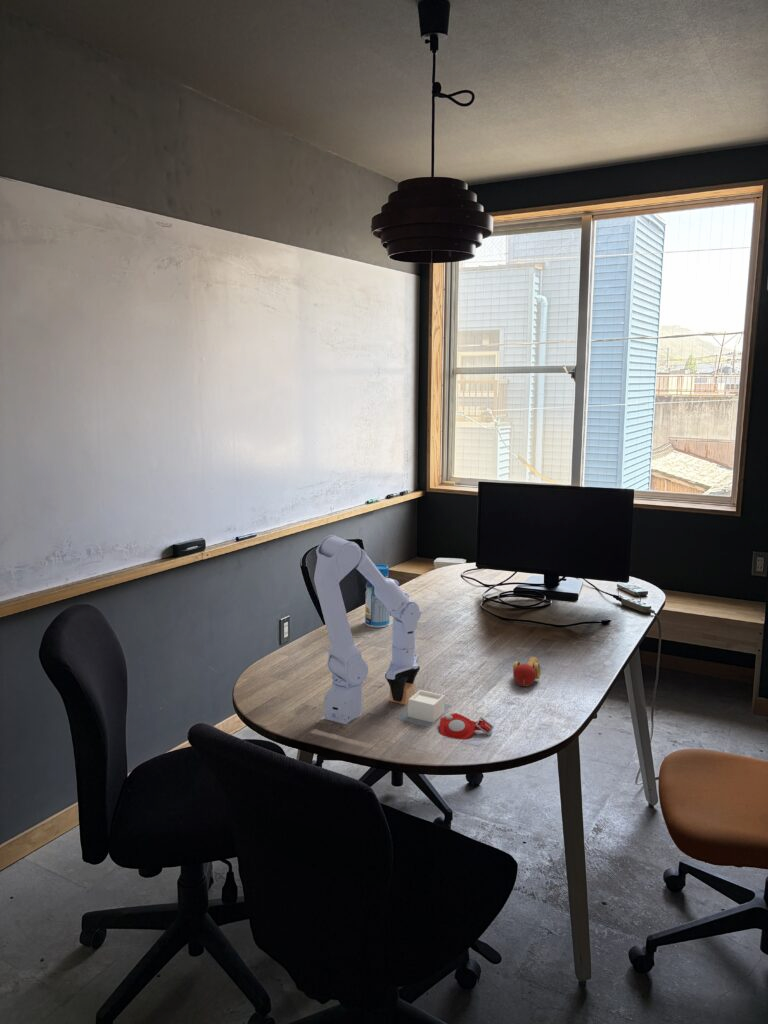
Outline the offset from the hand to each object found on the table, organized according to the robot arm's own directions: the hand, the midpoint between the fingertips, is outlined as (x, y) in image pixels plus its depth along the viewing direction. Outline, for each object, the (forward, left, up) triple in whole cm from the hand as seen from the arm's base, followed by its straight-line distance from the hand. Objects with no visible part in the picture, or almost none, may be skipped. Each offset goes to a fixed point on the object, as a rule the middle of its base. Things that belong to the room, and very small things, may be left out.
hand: (401, 697), depth 192 cm
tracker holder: (-9, -20, -2) cm, 22 cm away
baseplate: (-4, -8, -1) cm, 9 cm away
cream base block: (-5, -9, -1) cm, 10 cm away
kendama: (+33, -23, -2) cm, 40 cm away
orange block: (0, 0, -1) cm, 1 cm away
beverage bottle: (+53, +35, -2) cm, 64 cm away
